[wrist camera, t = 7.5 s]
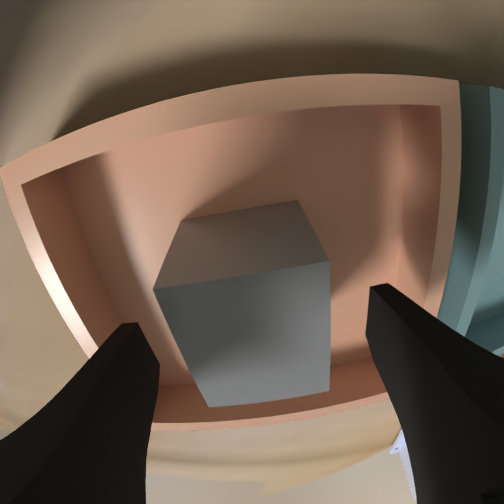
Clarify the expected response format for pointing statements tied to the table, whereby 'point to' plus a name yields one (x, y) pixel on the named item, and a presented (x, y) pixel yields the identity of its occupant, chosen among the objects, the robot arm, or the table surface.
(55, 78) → the table surface
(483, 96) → the slate bin
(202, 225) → the stone block
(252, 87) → the terracotta bin
